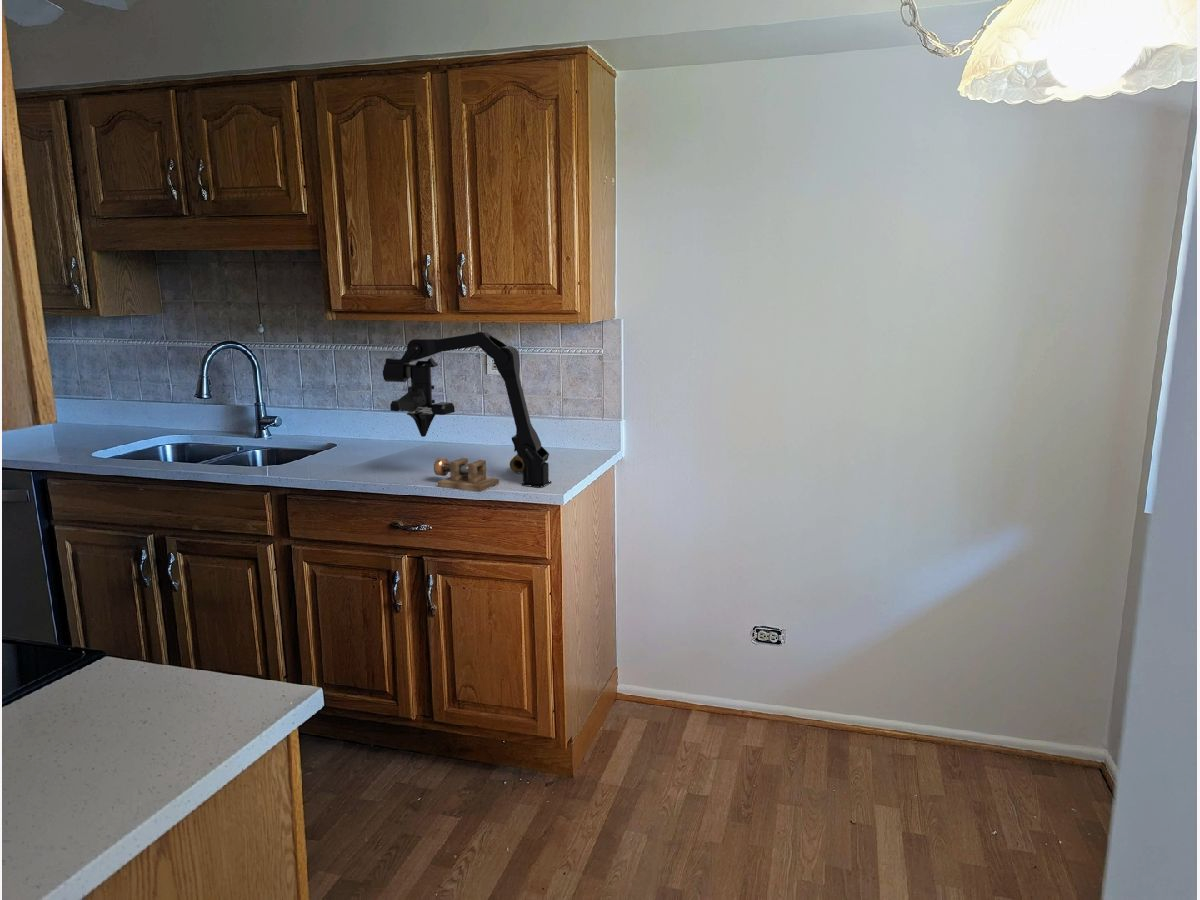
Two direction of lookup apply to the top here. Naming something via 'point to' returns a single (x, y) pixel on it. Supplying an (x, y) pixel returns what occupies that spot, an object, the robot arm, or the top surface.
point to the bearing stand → (468, 476)
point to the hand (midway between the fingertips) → (423, 436)
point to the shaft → (447, 467)
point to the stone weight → (517, 464)
